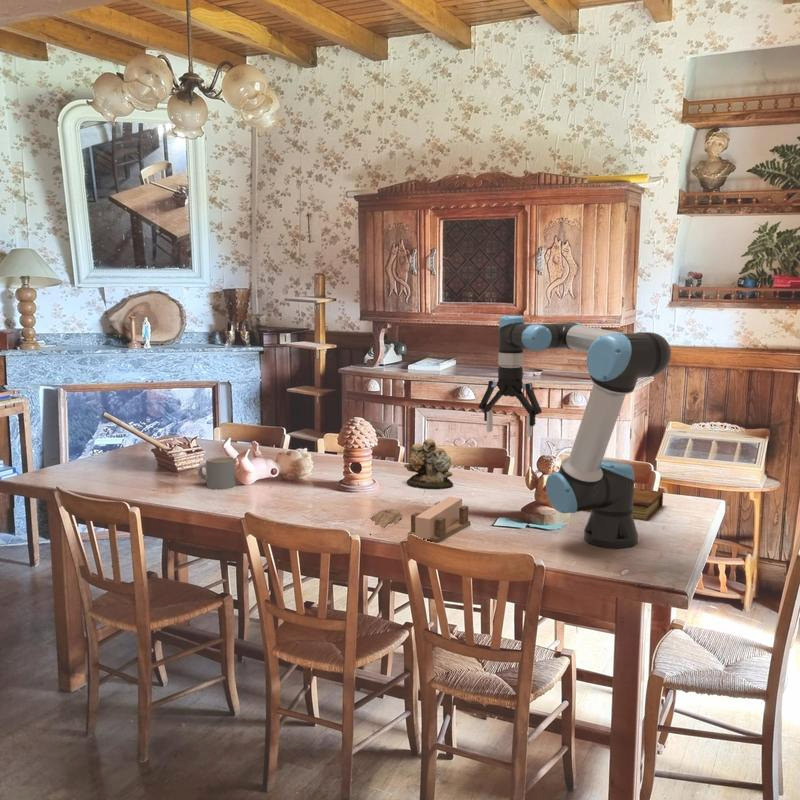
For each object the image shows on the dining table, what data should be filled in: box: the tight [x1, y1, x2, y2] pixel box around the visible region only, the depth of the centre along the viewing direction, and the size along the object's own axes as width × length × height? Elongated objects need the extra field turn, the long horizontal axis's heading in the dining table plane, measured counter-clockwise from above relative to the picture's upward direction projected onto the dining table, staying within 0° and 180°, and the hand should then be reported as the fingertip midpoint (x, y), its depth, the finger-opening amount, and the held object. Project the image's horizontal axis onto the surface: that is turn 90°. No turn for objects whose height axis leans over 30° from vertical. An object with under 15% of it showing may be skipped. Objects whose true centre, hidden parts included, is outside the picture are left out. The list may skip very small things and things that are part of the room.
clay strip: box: [415, 496, 463, 539], centre depth 250 cm, size 4×24×6 cm, turn 153°
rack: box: [407, 501, 471, 543], centre depth 251 cm, size 10×20×6 cm, turn 147°
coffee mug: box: [197, 455, 236, 490], centre depth 302 cm, size 13×10×10 cm
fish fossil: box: [368, 508, 402, 529], centre depth 259 cm, size 26×10×1 cm, turn 169°
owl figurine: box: [403, 438, 454, 490], centre depth 302 cm, size 18×12×17 cm, turn 75°
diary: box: [584, 487, 664, 522], centre depth 274 cm, size 23×19×6 cm
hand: (509, 434), depth 261 cm, fingers open, 13 cm apart
